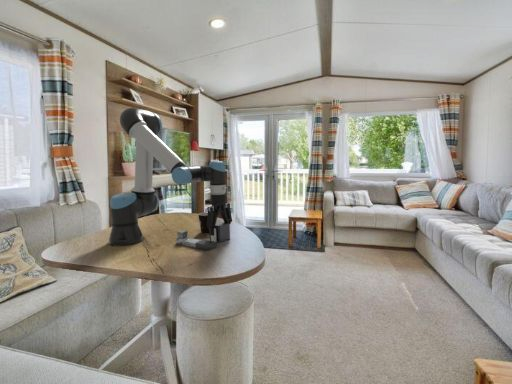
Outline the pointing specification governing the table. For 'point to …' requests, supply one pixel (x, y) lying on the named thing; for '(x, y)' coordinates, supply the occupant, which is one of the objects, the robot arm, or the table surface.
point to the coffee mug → (203, 222)
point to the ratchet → (194, 241)
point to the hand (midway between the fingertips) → (220, 239)
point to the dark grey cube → (222, 231)
